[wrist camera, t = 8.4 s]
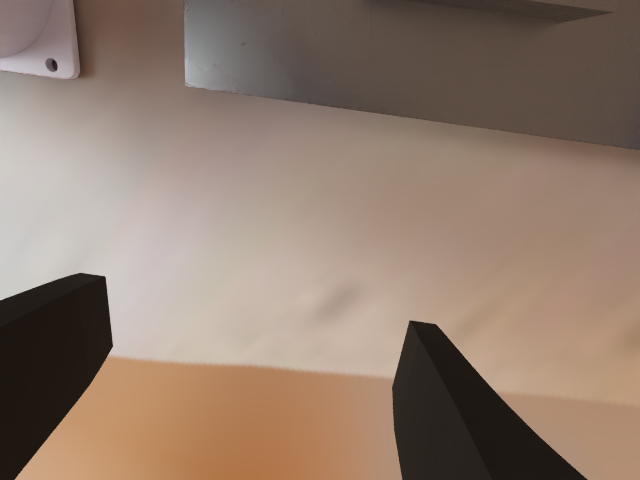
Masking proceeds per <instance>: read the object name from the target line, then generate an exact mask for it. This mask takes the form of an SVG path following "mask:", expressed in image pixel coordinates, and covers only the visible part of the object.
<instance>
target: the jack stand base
mask: <svg viewBox="0 0 640 480" xmlns="http://www.w3.org/2000/svg"><path fill="white" fill-rule="evenodd" d="M184 46H185V86H188V87H195V88H202V89H209V90H216V91H223V92H230V93H238V94H245V95H252V96H259V97H266V98H273V99H280V100H287V101H295V102H302V103H309V104H316V105H323V106H330V107H337V108H344V109H351V110H359V111H366V112H373V113H380V114H387V115H394V116H401V117H408V118H416V119H423V120H430V121H437V122H444V123H451V124H458V125H465V126H473V127H480V128H487V129H494V130H501V131H508V132H515V133H522V134H530V135H537V136H544V137H551V138H558V139H565V140H572V141H579V142H586V143H594V144H601V145H608V146H615V147H622V148H629V149H636V150H640V0H184Z"/></svg>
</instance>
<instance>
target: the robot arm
mask: <svg viewBox="0 0 640 480" xmlns="http://www.w3.org/2000/svg"><path fill="white" fill-rule="evenodd" d="M53 59H54V60H55V61H56V62H57V65H58V69H57V71H56V70H55V69H54V68H53V66H52V61H53ZM0 70H2V71H9V72H16V73H23V74H30V75H37V76H44V77H51V78H58V79H75V78H77V77H78V76H79V74H80V62H79V52H78V43H77V34H76V24H75V15H74V6H73V0H0ZM112 347H113V343H112V333H111V324H110V314H109V305H108V296H107V286H106V277H105V276H98V275H91V274H84V273H78V274H74V275H70V276H67V277H64V278H61V279H58V280H55V281H52V282H49V283H46V284H44V285H41V286H38V287H35V288H33V289H30V290H27V291H25V292H22V293H19V294H17V295H14V296H11V297H9V298H6V299H3V300H0V480H15V478H16V477H17V476H18V474H19V473H20V472H21V471H22V469H23V468H24V467H25V466H26V464H27V463H28V462H29V461H30V459H31V458H32V457H33V456H34V454H35V453H36V452H37V451H38V449H39V448H40V447H41V446H42V444H43V443H44V442H45V441H46V440H47V438H48V437H49V436H50V434H51V433H52V432H53V431H54V429H55V428H56V427H57V426H58V425H59V423H60V422H61V421H62V420H63V418H64V417H65V416H66V415H67V413H68V412H69V411H70V409H71V408H72V407H73V405H74V404H75V403H76V402H77V401H78V399H79V398H80V397H81V396H82V394H83V393H84V392H85V390H86V389H87V388H88V386H89V385H90V384H91V382H92V381H93V379H94V377H95V376H96V374H97V372H98V371H99V369H100V368H101V366H102V364H103V363H104V361H105V359H106V358H107V356H108V354H109V352H110V351H111V349H112ZM392 391H393V415H394V431H395V437H396V444H397V450H398V456H399V462H400V467H401V474H402V480H587V479H586V478H585V477H584V476H583V475H581V474H580V473H579V472H578V471H577V470H576V469H575V468H573V467H572V466H571V465H570V464H569V463H568V462H567V461H566V460H565V459H563V458H562V457H561V456H560V455H559V454H558V453H557V452H556V451H554V450H553V449H552V448H551V447H550V446H549V445H548V444H547V443H546V442H545V441H543V440H542V439H541V438H540V437H539V436H538V435H537V434H536V433H535V432H534V431H533V430H532V429H531V428H530V427H529V426H528V425H527V424H526V423H525V422H524V421H523V420H522V419H521V418H520V417H519V416H518V415H517V414H516V413H515V412H514V411H513V410H512V409H511V408H510V407H509V406H508V405H507V404H506V403H505V402H504V401H503V400H502V399H501V397H500V396H499V395H498V394H497V393H496V392H495V391H494V390H493V389H492V388H491V387H490V386H489V385H488V383H487V382H486V381H485V380H484V379H483V378H482V377H481V376H480V375H479V373H478V372H477V371H476V370H475V369H474V368H473V367H472V365H471V364H470V363H469V362H468V361H467V360H466V358H465V357H464V356H463V355H462V354H461V353H460V351H459V350H458V349H457V348H456V347H455V346H454V344H453V343H452V342H451V341H450V340H449V338H448V337H447V336H446V335H445V334H444V333H443V332H442V330H441V329H440V328H439V327H438V326H437V325H436V324H431V323H424V322H417V321H409V325H408V329H407V333H406V337H405V341H404V344H403V348H402V352H401V356H400V360H399V364H398V368H397V371H396V375H395V379H394V383H393V387H392Z"/></svg>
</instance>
